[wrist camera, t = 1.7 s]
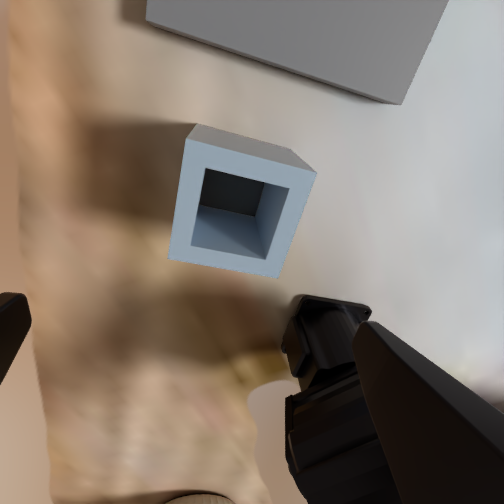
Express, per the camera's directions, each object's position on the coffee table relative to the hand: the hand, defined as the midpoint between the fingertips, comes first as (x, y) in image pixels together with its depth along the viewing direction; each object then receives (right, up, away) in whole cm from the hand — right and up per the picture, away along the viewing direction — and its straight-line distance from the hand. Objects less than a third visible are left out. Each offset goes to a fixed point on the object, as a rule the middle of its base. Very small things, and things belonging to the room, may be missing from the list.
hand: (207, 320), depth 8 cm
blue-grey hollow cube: (0, +6, +11) cm, 13 cm away
